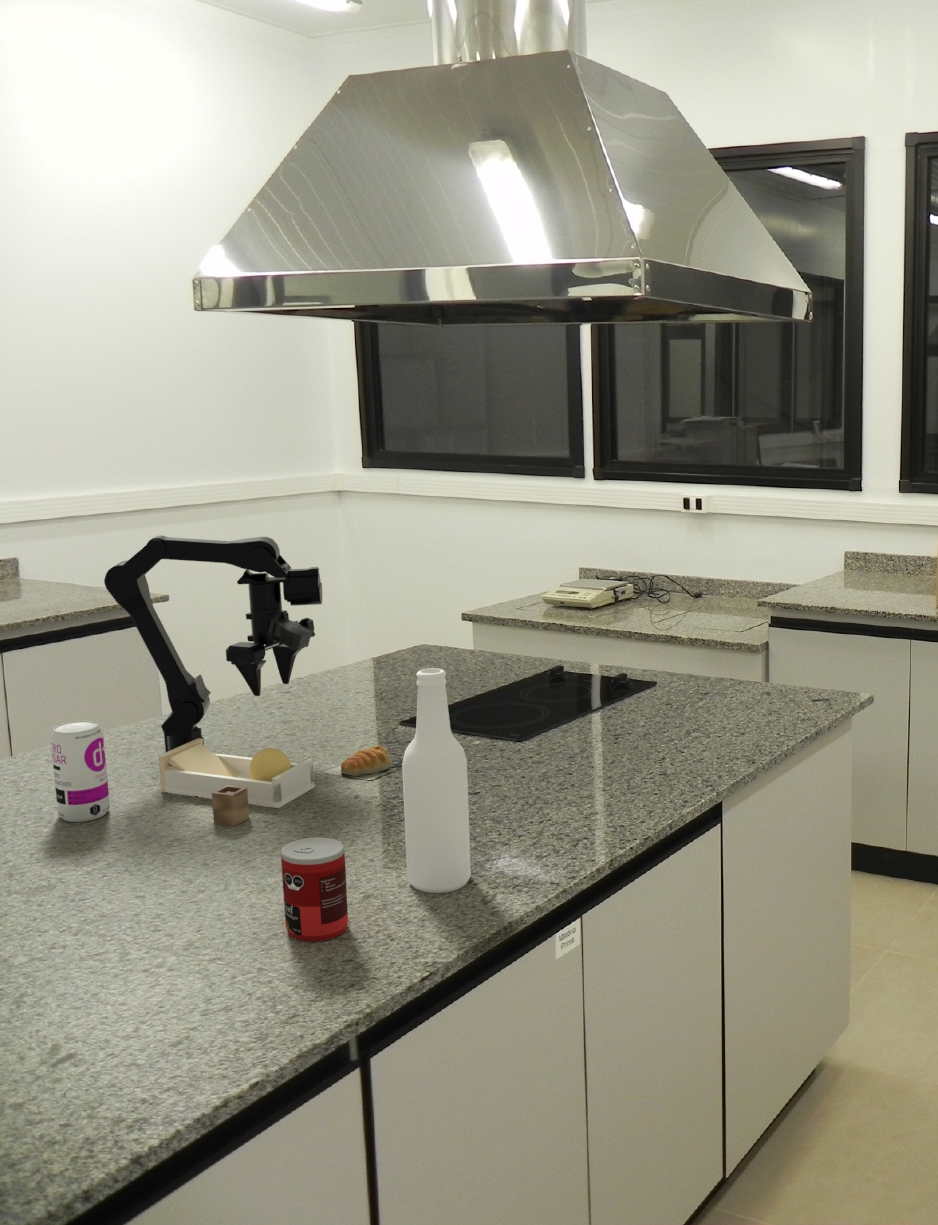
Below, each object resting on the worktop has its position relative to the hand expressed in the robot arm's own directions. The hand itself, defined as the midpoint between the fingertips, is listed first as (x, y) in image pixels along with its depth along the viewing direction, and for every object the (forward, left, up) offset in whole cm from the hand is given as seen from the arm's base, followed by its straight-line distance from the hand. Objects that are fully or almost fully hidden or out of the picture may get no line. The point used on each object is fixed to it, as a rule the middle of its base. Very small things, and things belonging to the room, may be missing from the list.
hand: (271, 689), depth 225 cm
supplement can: (-13, -37, -13) cm, 41 cm away
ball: (+11, -18, -9) cm, 23 cm away
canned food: (+46, -60, -13) cm, 77 cm away
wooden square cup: (+12, -31, -13) cm, 35 cm away
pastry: (+20, 0, -14) cm, 24 cm away
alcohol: (+54, -41, -13) cm, 69 cm away
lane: (+4, -18, -13) cm, 22 cm away
